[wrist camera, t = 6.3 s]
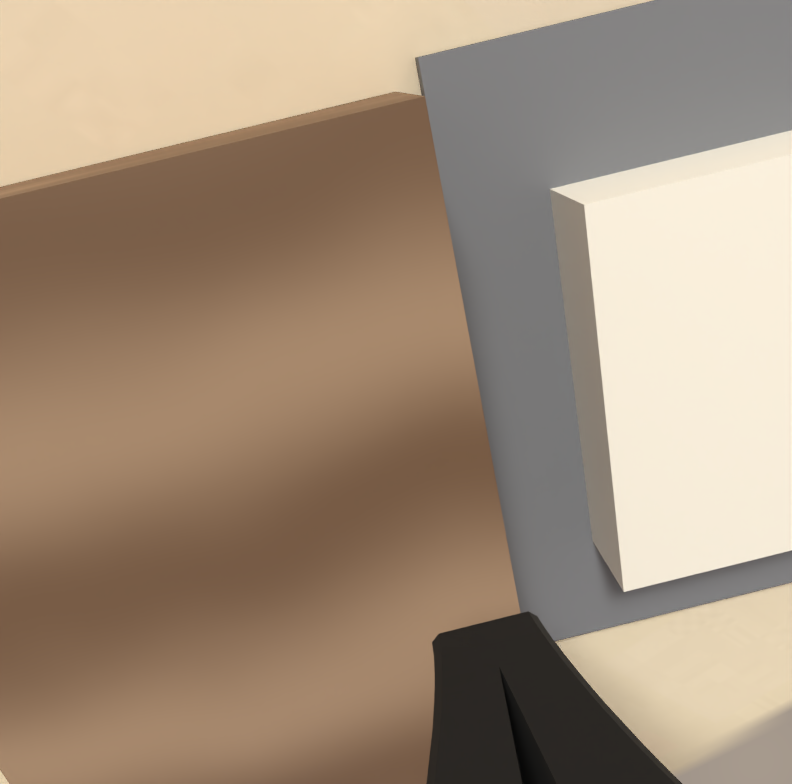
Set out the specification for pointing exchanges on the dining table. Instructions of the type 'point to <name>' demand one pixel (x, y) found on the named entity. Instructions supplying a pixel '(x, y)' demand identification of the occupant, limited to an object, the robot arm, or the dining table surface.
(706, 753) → the dining table surface
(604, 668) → the dining table surface
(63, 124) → the dining table surface
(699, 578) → the mat
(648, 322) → the block
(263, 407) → the brown wooden block
